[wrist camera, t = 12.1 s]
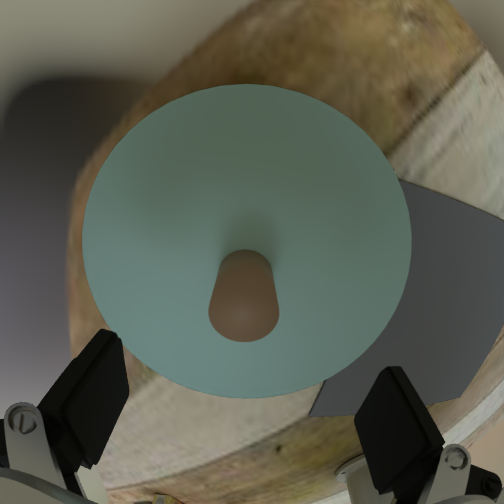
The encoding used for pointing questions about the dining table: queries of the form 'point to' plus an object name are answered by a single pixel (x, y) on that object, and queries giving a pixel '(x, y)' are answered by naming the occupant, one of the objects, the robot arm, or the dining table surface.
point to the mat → (434, 307)
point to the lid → (247, 241)
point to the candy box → (165, 499)
